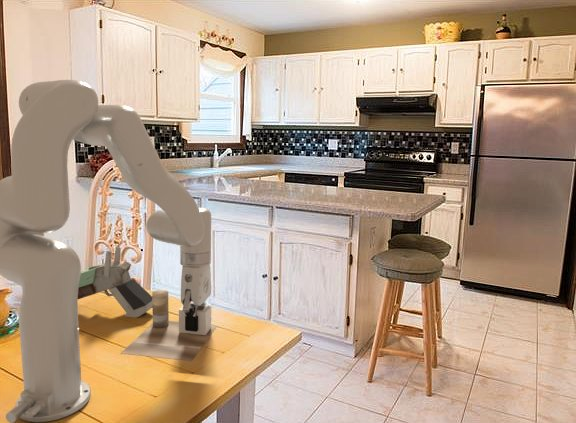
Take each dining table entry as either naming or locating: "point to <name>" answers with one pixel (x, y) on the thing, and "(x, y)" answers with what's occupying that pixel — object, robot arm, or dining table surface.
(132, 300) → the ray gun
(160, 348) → the board
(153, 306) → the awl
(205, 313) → the white rectangular block
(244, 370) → the dining table surface
